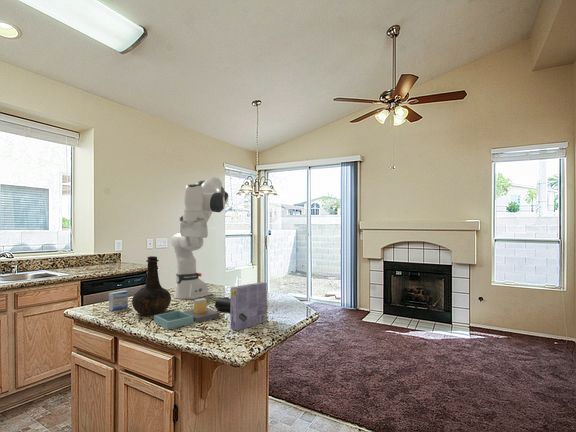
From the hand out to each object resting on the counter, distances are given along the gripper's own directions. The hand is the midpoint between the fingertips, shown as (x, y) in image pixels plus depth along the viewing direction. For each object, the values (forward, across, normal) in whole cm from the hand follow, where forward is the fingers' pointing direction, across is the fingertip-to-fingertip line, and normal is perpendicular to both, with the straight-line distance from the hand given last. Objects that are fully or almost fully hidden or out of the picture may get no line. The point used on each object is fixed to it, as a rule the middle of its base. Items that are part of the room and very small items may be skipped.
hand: (193, 246), depth 149 cm
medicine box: (+34, +42, +20) cm, 57 cm away
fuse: (+33, -3, -2) cm, 33 cm away
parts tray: (+33, -3, +11) cm, 35 cm away
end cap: (+33, -3, -17) cm, 38 cm away
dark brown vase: (+33, +21, +11) cm, 41 cm away
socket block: (+33, -3, -2) cm, 33 cm away
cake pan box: (+33, -28, -12) cm, 45 cm away
